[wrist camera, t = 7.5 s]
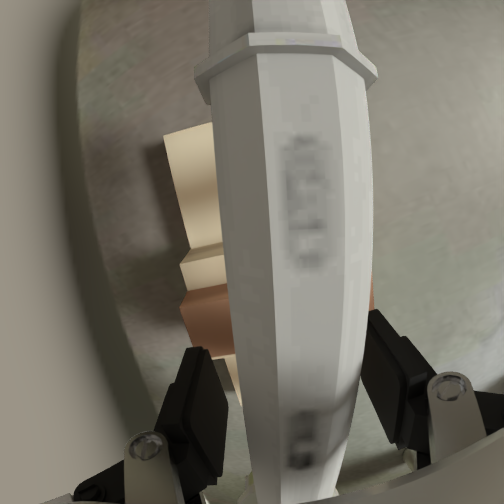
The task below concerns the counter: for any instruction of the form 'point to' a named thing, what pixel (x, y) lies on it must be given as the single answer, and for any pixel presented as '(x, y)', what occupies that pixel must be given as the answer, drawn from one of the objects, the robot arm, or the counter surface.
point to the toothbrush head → (293, 229)
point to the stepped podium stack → (204, 245)
